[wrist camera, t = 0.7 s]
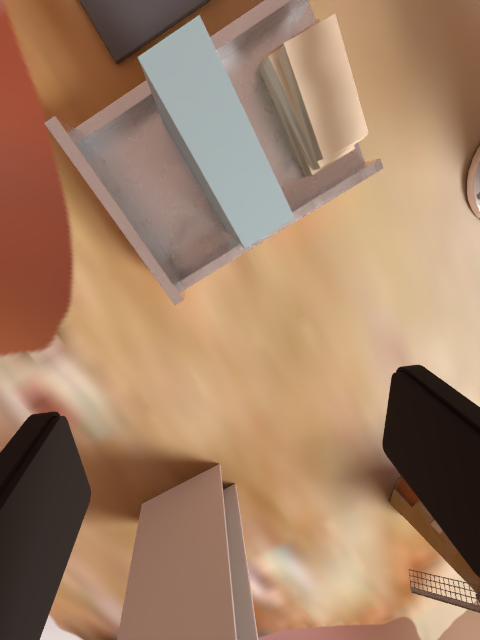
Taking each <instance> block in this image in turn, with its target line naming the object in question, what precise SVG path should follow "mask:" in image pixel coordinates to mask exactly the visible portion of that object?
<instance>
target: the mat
mask: <svg viewBox="0 0 480 640" xmlns="http://www.w3.org/2000/svg"><path fill="white" fill-rule="evenodd" d="M209 1H210V0H80V2H81V4H82V5H83V7H84V9H85V11H86V12H87V14H88V16H89V17H90V19H91V21H92V22H93V24H94V26H95V28H96V29H97V31H98V33H99V34H100V36H101V38H102V39H103V41H104V43H105V45H106V46H107V48H108V50H109V51H110V53H111V55H112V56H113V58H114V60H115V62H116V63H117V64H118V63H120V62H121V61H123V60H124V59H126V58H127V57H129V56H130V55H131V54H133V53H134V52H136V51H137V50H139V49H140V48H142V47H143V46H145V45H146V44H148V43H149V42H151V41H152V40H153V39H155V38H156V37H158V36H159V35H161V34H162V33H164V32H165V31H167V30H168V29H170V28H171V27H172V26H174V25H175V24H177V23H178V22H180V21H181V20H183V19H184V18H186V17H187V16H189V15H190V14H191V13H193V12H194V11H196V10H197V9H199V8H200V7H202V6H203V5H205V4H206V3H208V2H209Z"/></svg>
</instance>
